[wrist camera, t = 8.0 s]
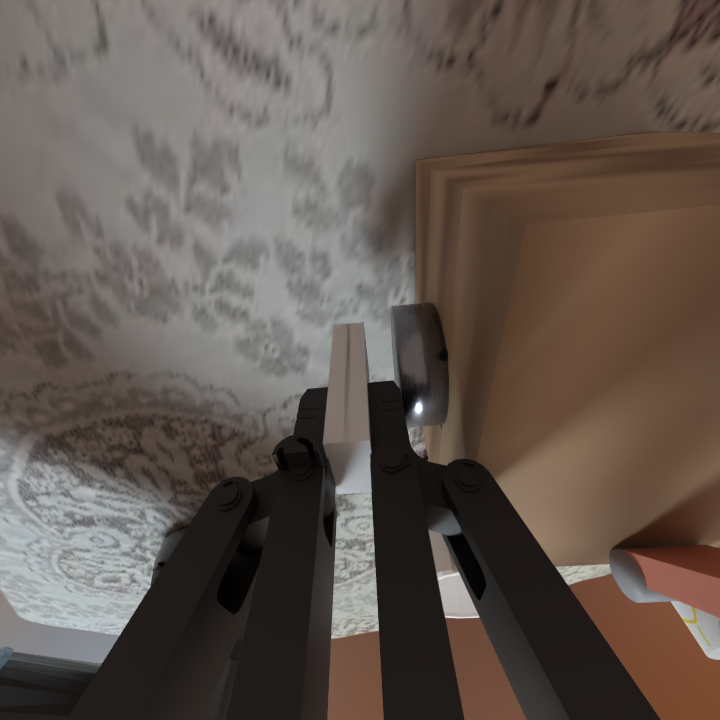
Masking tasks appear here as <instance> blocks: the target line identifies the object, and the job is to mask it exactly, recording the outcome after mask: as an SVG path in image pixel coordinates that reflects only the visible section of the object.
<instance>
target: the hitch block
mask: <svg viewBox="0 0 720 720" xmlns="http://www.w3.org/2000/svg"><path fill="white" fill-rule="evenodd" d="M430 302H431V303H433V304H434V305H435V307H436V309H437V311H438V313H439V316H440V320H441V323H442V327H443V332H444V337H445V343H446V348H447V351H448V370H449V407H448V414H447V419H446V421H445V423H444V424H443V425H433V426H421V427H422V431H423V436H424V440H425V445H426V450H427V454H428V459H429V462H432V463H437V464H441V465H446V466H447V465H448V463H450V462H452V461H454V460H456V459H464V458H465V459H470V460H474V461H476V462H478V463H480V464H482V465H483V466H484V467H485V468H486V469H487V470H488V471H489V472H490V473H491V475H492V476H493V478H494V479H495V481H496V482H497V483H498V485H499V486H500V488H501V489H502V491H503V492H504V494H505V495H506V497H507V498H508V499H509V501H510V502H511V504H512V505H513V507H514V508H515V510H516V511H517V512H518V514H519V515H520V517H521V518H522V520H523V521H524V523H525V524H526V525H527V527H528V528H529V530H530V531H531V533H532V534H533V536H534V537H535V539H536V540H537V541H538V543H539V544H540V546H541V547H542V549H543V550H544V552H545V553H546V554H547V556H548V557H549V559H550V560H551V562H552V563H553V565H554V566H555V567H558V566H578V565H597V564H610V563H609V555H610V552H611V551H612V550H614V549H630V548H649V547H667V546H686V545H710V546H713V547H718V546H719V545H720V133H700V132H646V133H638V134H630V135H621V136H613V137H605V138H597V139H588V140H580V141H572V142H563V143H555V144H547V145H538V146H530V147H522V148H513V149H505V150H497V151H488V152H480V153H472V154H463V155H455V156H447V157H439V158H430V159H422V160H416V182H415V304H419V303H430ZM449 555H450V560H451V564H452V569H453V572H458V569H457V567H456V565H455V563H454V561H453V559H452V556H451V554H450V552H449Z"/></svg>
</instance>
